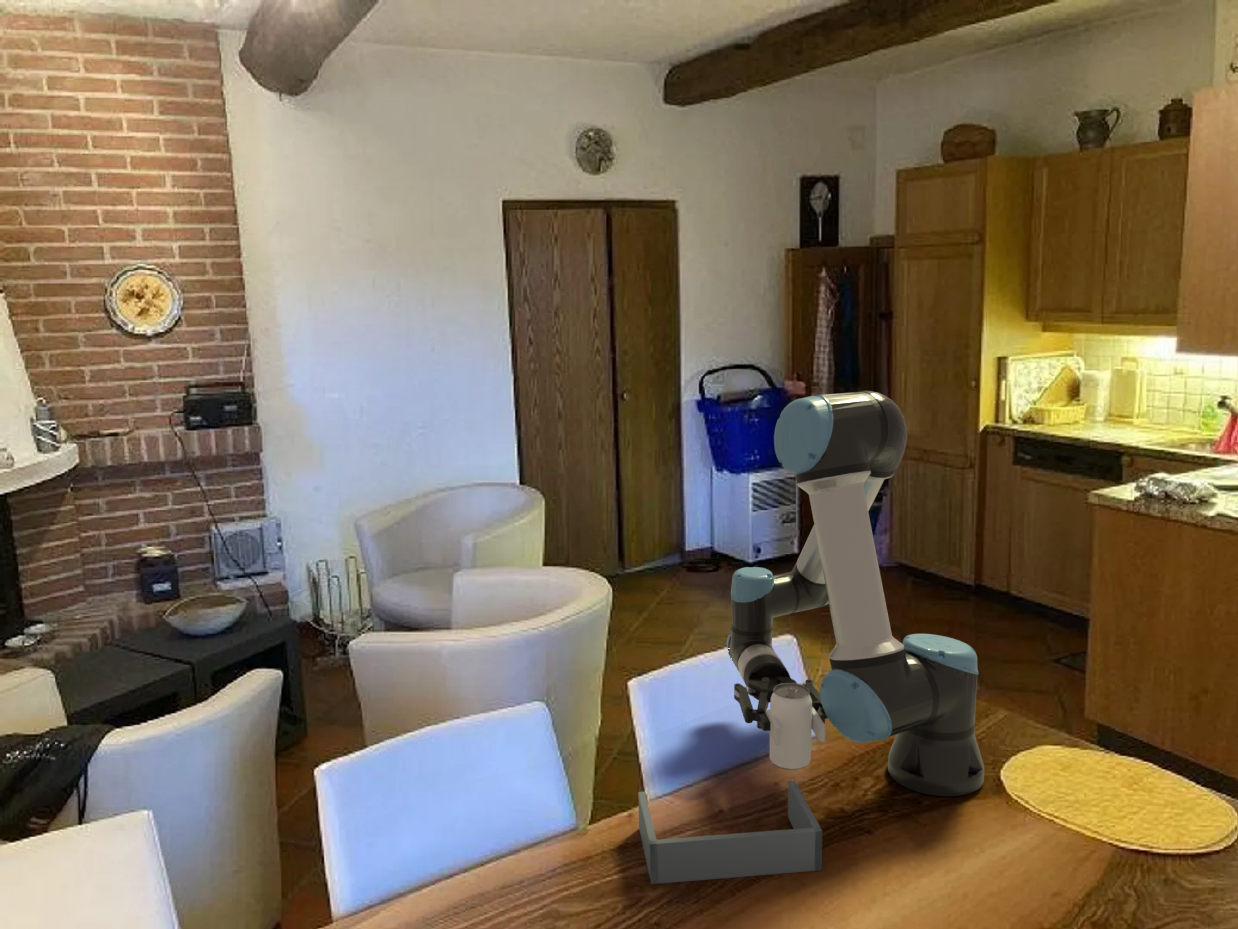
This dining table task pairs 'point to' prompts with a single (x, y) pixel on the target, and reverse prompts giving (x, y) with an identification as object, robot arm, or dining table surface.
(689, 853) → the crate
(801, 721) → the can
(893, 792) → the dining table surface
